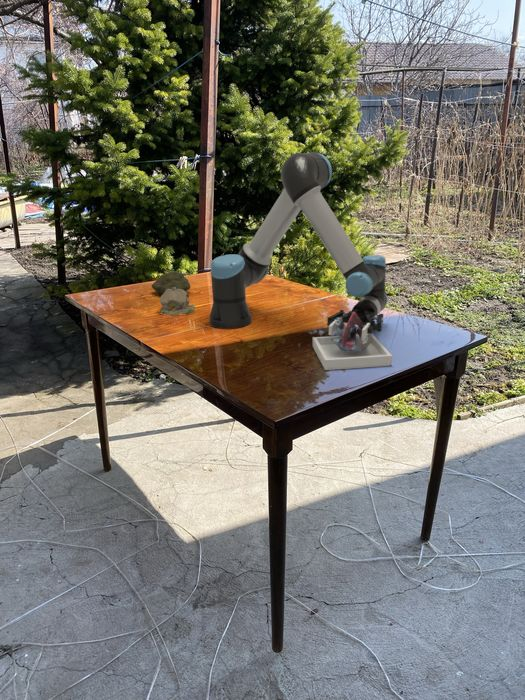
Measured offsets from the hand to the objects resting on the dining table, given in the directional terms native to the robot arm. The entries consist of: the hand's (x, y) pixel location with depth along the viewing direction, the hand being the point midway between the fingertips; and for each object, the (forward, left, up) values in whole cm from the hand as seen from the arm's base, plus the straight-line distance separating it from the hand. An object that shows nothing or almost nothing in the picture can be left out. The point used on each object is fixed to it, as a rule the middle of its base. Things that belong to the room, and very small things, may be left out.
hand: (346, 332), depth 149 cm
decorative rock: (-56, +89, -9) cm, 105 cm away
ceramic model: (-52, +61, -9) cm, 80 cm away
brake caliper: (+3, +5, -7) cm, 9 cm away
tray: (+2, +4, -9) cm, 10 cm away
